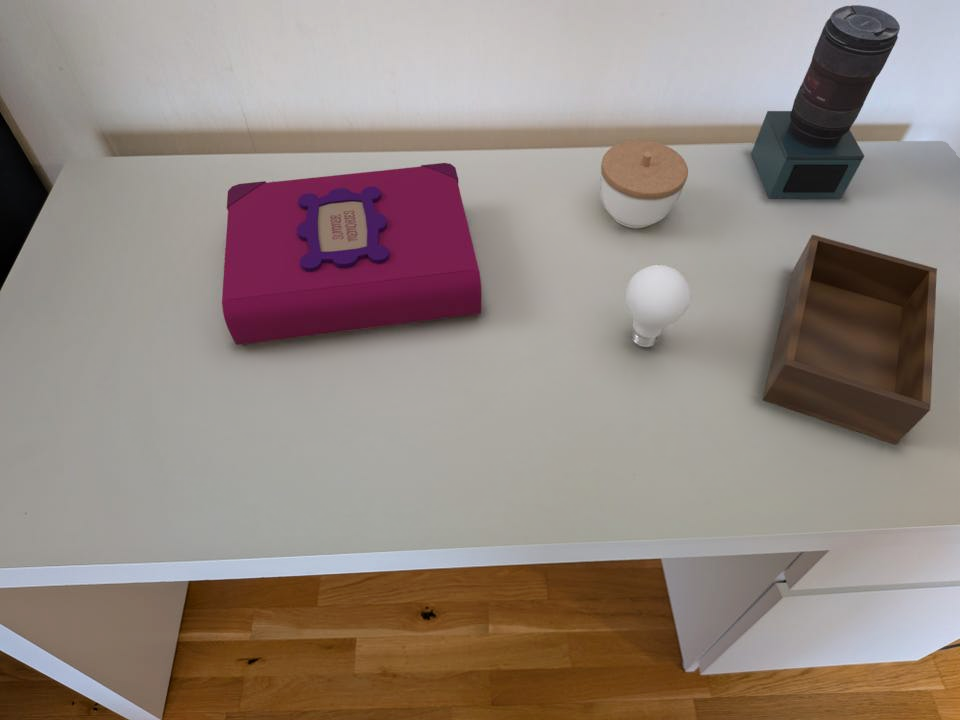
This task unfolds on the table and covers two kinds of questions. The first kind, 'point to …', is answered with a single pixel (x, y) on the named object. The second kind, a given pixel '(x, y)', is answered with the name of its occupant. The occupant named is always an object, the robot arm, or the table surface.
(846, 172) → the cabinet block
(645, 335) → the light bulb
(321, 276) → the book
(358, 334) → the table surface
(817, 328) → the wooden box
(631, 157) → the trinket box
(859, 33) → the camera lens
